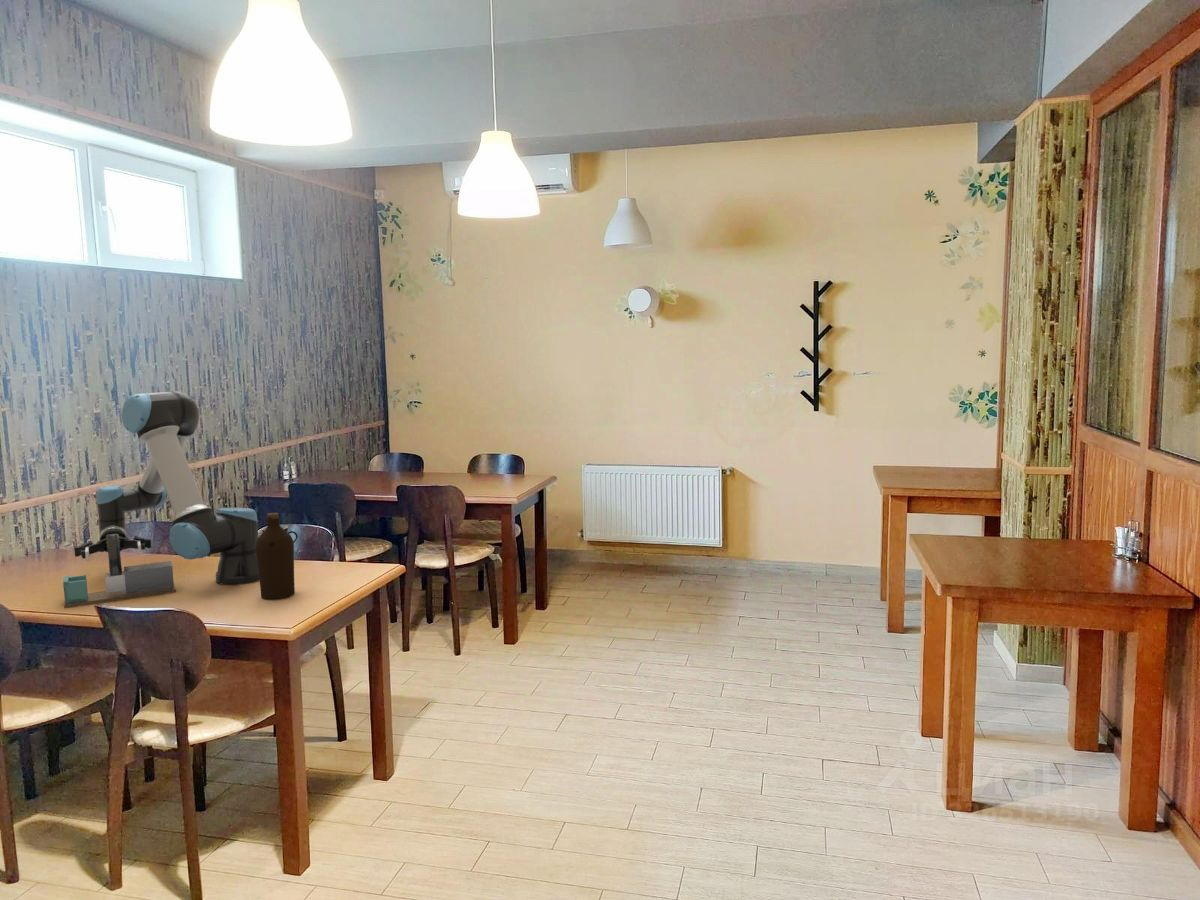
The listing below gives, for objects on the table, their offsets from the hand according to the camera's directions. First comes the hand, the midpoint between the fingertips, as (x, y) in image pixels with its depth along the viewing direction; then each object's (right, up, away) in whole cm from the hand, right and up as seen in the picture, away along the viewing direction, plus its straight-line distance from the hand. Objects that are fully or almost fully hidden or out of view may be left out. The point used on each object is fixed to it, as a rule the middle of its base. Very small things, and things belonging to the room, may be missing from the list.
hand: (113, 553), depth 249 cm
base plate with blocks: (0, -13, +5) cm, 14 cm away
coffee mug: (+30, -7, +51) cm, 60 cm away
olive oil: (+48, -13, +2) cm, 50 cm away
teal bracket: (-10, -13, -1) cm, 17 cm away
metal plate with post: (+3, -11, +6) cm, 13 cm away
